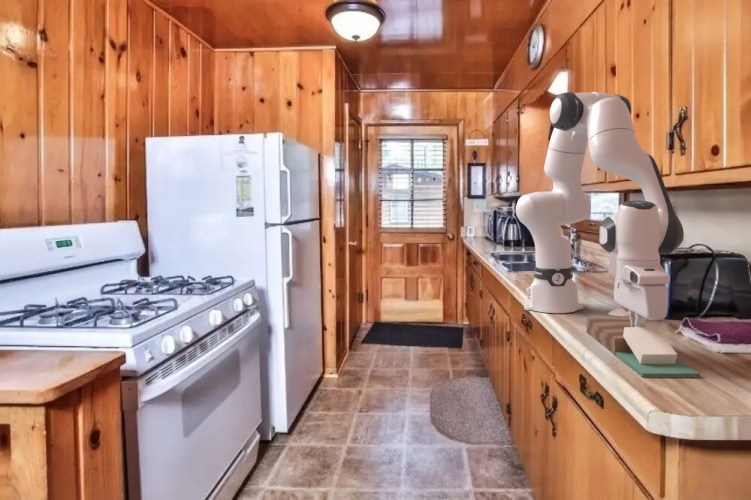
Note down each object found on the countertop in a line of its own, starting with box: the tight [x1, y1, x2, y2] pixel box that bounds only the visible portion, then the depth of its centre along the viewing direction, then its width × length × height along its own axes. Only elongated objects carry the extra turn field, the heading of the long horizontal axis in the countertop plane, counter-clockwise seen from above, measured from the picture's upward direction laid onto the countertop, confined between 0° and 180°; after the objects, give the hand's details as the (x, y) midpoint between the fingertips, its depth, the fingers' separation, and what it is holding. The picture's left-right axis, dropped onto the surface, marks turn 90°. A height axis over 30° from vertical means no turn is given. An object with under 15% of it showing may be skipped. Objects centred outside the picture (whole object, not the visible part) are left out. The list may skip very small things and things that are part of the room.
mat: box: [615, 352, 701, 378], centre depth 104 cm, size 14×11×1 cm
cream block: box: [623, 326, 678, 364], centre depth 107 cm, size 10×7×2 cm
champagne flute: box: [607, 252, 629, 317], centre depth 150 cm, size 7×7×24 cm
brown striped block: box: [586, 316, 646, 356], centre depth 121 cm, size 20×11×4 cm, turn 174°
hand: (637, 330), depth 113 cm, fingers closed
